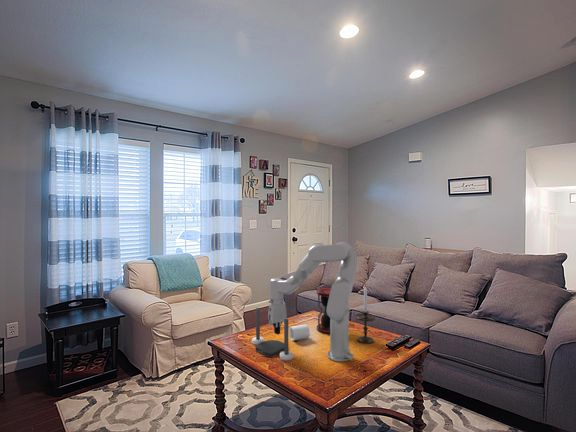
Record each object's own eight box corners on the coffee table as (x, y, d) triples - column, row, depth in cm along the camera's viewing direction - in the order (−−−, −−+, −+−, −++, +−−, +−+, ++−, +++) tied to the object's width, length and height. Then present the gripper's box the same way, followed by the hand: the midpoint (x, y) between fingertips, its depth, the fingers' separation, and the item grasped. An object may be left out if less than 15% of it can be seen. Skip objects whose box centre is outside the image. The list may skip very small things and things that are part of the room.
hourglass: (312, 326, 222) (312, 288, 221) (335, 324, 227) (335, 286, 226) (322, 335, 207) (322, 294, 206) (346, 332, 211) (346, 292, 210)
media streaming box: (290, 350, 187) (290, 345, 187) (269, 358, 177) (269, 353, 177) (272, 342, 198) (272, 337, 198) (252, 350, 188) (252, 344, 187)
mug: (309, 340, 200) (309, 326, 200) (294, 343, 196) (294, 329, 196) (301, 333, 211) (301, 320, 211) (286, 335, 207) (286, 322, 207)
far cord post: (266, 342, 197) (266, 308, 196) (256, 345, 192) (256, 310, 192) (259, 339, 202) (259, 305, 202) (249, 342, 198) (249, 308, 197)
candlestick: (354, 343, 195) (354, 282, 194) (357, 336, 205) (357, 278, 204) (374, 345, 192) (374, 283, 190) (375, 338, 202) (375, 279, 201)
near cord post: (295, 358, 177) (295, 320, 176) (285, 362, 172) (285, 323, 172) (287, 353, 182) (287, 316, 182) (277, 357, 178) (276, 319, 177)
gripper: (270, 305, 181) (270, 339, 182) (291, 299, 191) (291, 332, 191) (262, 302, 187) (262, 335, 188) (283, 297, 197) (283, 328, 197)
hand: (277, 333), depth 190 cm, fingers closed
